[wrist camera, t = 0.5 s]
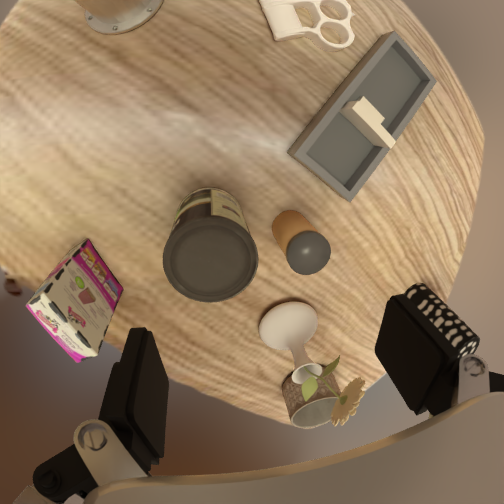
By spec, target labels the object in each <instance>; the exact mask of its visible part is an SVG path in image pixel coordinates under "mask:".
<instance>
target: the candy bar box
mask: <svg viewBox="0 0 504 504" xmlns="http://www.w3.org/2000/svg"><path fill="white" fill-rule="evenodd" d="M122 291H123V288H122V286H121V285H120V284H119V282H118V281H117V280H116V278H115V277H114V276H113V274H112V273H111V272H110V270H109V269H108V267H107V266H106V265H105V263H104V262H103V260H102V259H101V257H100V256H99V254H98V253H97V251H96V250H95V248H94V247H93V245H92V244H91V242H90V241H89V239H86V240H85V241H83V242H82V243H80V244H79V245H77V246H76V247H74V248H73V249H71V250H70V251H69V252H68V253H67V254H66V255H65V257H64V258H63V259H62V260H61V261H60V262H59V264H58V265H57V266H56V267H55V268H54V270H53V271H52V272H51V273H50V274H49V276H48V277H47V278H46V279H45V281H44V282H43V283H42V284H41V286H40V287H39V288H38V290H37V291H36V292H35V293H34V295H33V296H32V297H31V299H30V300H29V301H28V303H27V304H26V307H27V308H28V309H29V311H30V312H31V313H32V314H33V315H34V317H35V318H36V319H37V320H38V321H39V322H40V324H41V325H42V326H43V327H44V328H45V330H46V331H47V332H48V333H49V334H50V335H51V336H52V337H53V338H54V340H55V341H56V342H57V343H58V344H59V345H60V346H61V347H62V348H63V349H64V350H65V351H66V352H67V353H68V354H69V355H70V356H71V357H72V358H73V359H74V360H75V361H76V362H77V363H78V362H81V361H83V360H86V359H88V358H92V357H94V356H97V355H98V353H99V350H100V347H101V345H102V342H103V339H104V336H105V334H106V331H107V328H108V326H109V323H110V321H111V318H112V316H113V313H114V310H115V308H116V306H117V303H118V301H119V298H120V296H121V294H122Z"/></svg>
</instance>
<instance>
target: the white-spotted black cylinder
mask: <svg viewBox="0 0 504 504" xmlns="http://www.w3.org/2000/svg"><path fill="white" fill-rule="evenodd" d="M404 294H405V295H406V296H407V297H408V298H409V299H410V300H411V301H412V302H413V303H414V304H415V305H416V306H417V307H418V308H419V309H420V310H421V311H422V312H423V313H424V314H425V315H426V316H427V317H428V319H429V320H430V321H431V322H432V323H433V324H434V325H435V326H436V327H437V328H438V329H439V330H440V331H441V332H442V334H443V335H444V336H445V337H446V338H447V339H448V340H449V341H450V342H451V344H452V345H453V346H454V347H455V348H456V349H457V350H458V351H459V353H460V354H459V356H458V358H459V359H461V358H462V357H463V356H464V355H467V354H474V352H475V351H476V349H477V347H478V345H479V342H480V338H479V337H478V336H477V335H476V334H475V333H474V332H473V331H472V330H471V329H470V328H469V327H468V326H467V325H466V324H465V323H464V322H463V321H462V320H461V319H460V318H459V317H458V316H457V315H456V314H455V313H454V312H453V311H452V310H451V309H450V308H449V307H448V306H447V305H446V304H445V303H444V302H443V301H442V300H441V299H440V298H439V297H438V296H437V295H436V294H435V293H433V292H432V291H431V290H430V289H429V288H428V287H427V286H426V285H425V284H423V283H417V284H415V285H413V286H411V287H410V288H409V289H408V290H407V291H406V292H405V293H404Z"/></svg>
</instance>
